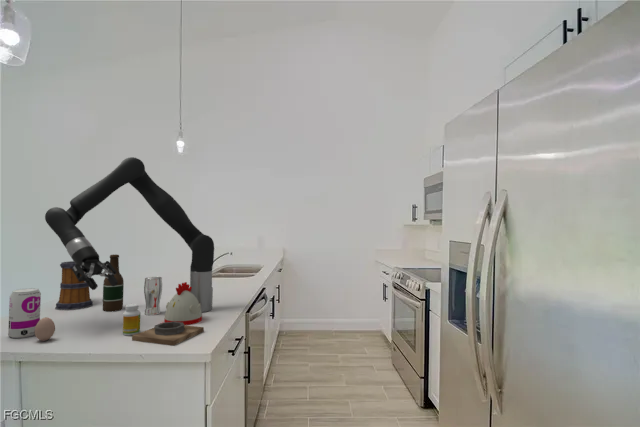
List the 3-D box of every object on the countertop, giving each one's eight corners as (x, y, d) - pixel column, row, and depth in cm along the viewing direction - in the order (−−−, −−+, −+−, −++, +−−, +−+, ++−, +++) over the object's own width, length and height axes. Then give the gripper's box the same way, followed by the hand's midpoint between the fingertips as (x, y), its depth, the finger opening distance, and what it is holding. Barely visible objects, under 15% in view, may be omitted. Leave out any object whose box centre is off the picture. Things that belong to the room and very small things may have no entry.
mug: (65, 302, 175) (66, 259, 175) (100, 300, 179) (101, 259, 180) (49, 311, 156) (50, 264, 157) (88, 309, 161) (89, 263, 161)
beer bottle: (113, 312, 156) (115, 255, 157) (98, 311, 158) (99, 255, 158) (126, 308, 164) (128, 254, 164) (111, 307, 165) (113, 253, 166)
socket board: (165, 327, 135) (166, 317, 135) (203, 331, 130) (203, 321, 130) (131, 340, 119) (132, 329, 119) (173, 345, 115) (173, 334, 115)
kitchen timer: (156, 323, 140) (157, 283, 141) (181, 315, 153) (182, 279, 154) (185, 327, 135) (186, 286, 136) (209, 318, 148) (209, 281, 149)
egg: (49, 342, 116) (50, 319, 116) (30, 343, 115) (31, 319, 115) (58, 337, 121) (58, 315, 122) (39, 338, 120) (40, 315, 120)
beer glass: (139, 314, 153) (140, 278, 153) (152, 311, 159) (153, 276, 159) (152, 316, 150) (153, 279, 150) (165, 312, 156) (166, 277, 157)
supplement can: (44, 333, 126) (46, 289, 126) (16, 340, 118) (18, 293, 119) (31, 330, 129) (32, 287, 129) (2, 336, 122) (4, 291, 122)
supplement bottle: (141, 334, 126) (141, 305, 126) (123, 336, 123) (124, 307, 123) (138, 330, 131) (139, 302, 131) (121, 332, 128) (122, 304, 128)
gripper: (70, 246, 126) (95, 282, 123) (105, 244, 140) (128, 277, 136) (57, 260, 128) (81, 296, 124) (93, 257, 141) (115, 290, 138)
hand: (105, 286), depth 130 cm, fingers open, 8 cm apart
